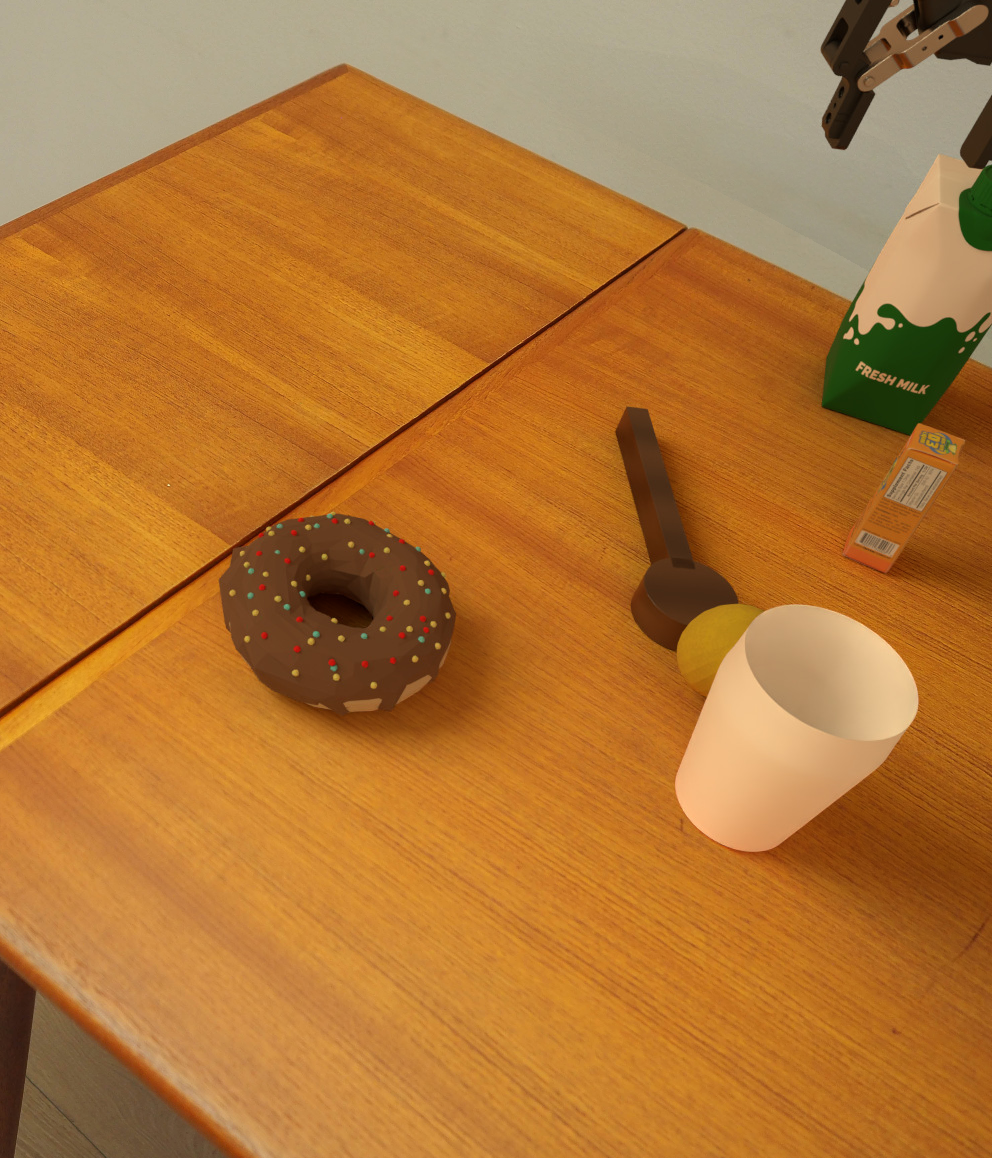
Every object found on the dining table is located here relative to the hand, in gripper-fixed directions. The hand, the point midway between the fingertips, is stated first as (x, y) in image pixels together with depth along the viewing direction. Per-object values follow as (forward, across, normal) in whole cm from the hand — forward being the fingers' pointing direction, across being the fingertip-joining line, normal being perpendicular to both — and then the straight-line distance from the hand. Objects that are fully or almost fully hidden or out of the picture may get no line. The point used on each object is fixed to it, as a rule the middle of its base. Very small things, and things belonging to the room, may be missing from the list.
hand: (902, 153), depth 78 cm
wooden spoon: (+24, -8, -10) cm, 27 cm away
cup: (+24, -8, -31) cm, 40 cm away
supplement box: (+24, +7, -9) cm, 27 cm away
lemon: (+24, -8, -22) cm, 33 cm away
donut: (+24, -31, -22) cm, 45 cm away
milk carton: (+24, +13, +9) cm, 29 cm away
